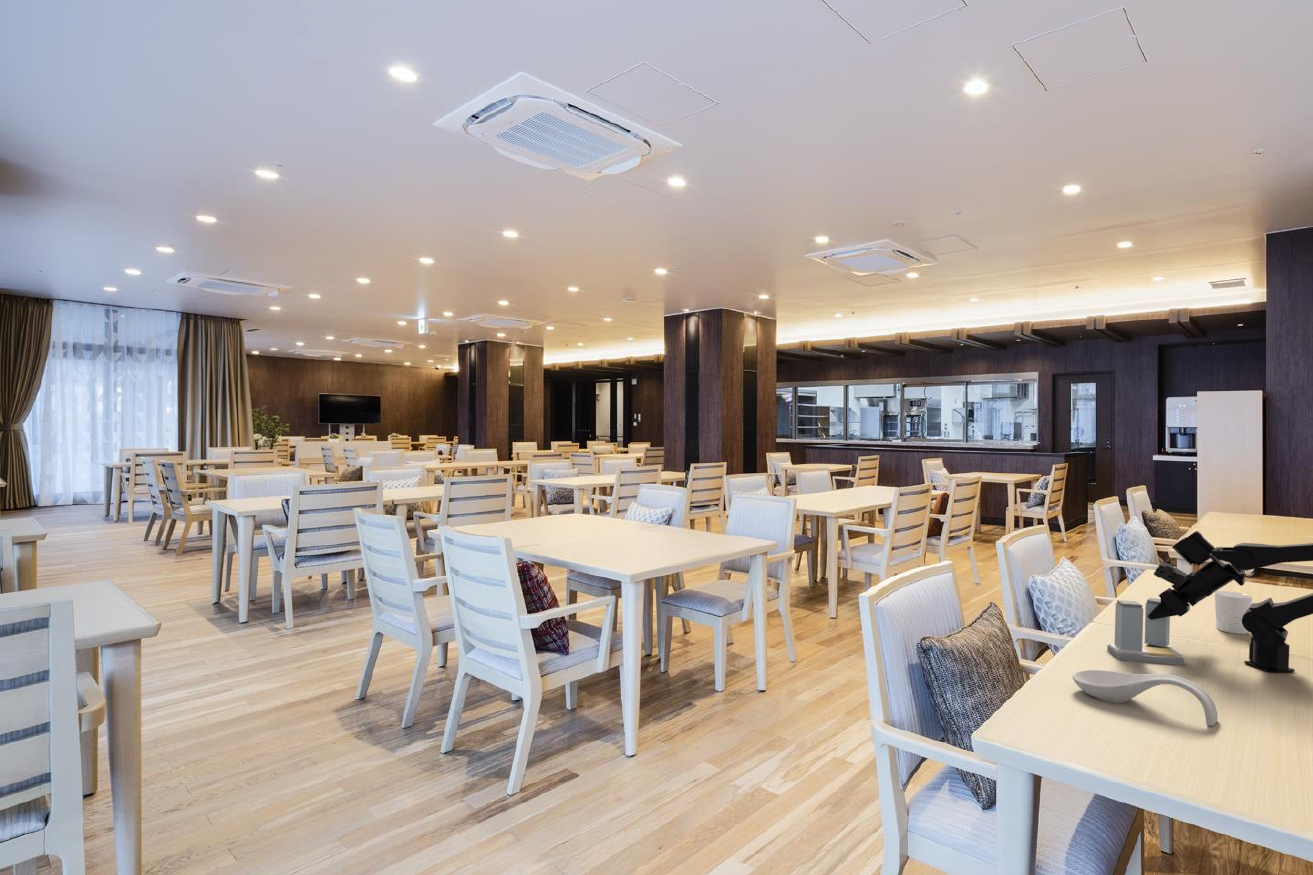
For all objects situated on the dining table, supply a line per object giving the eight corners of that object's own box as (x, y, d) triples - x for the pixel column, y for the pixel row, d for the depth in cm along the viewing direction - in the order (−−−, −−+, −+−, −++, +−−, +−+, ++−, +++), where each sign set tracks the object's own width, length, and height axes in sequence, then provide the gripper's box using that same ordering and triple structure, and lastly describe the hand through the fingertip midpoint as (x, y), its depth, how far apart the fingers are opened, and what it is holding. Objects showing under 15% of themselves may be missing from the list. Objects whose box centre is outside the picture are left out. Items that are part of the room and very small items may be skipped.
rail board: (1170, 655, 169) (1170, 647, 169) (1184, 665, 162) (1184, 656, 162) (1107, 650, 172) (1107, 642, 172) (1118, 659, 166) (1118, 651, 166)
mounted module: (1135, 646, 170) (1136, 601, 169) (1142, 651, 166) (1143, 605, 166) (1114, 644, 171) (1115, 599, 171) (1121, 649, 167) (1122, 603, 167)
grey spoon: (1064, 695, 143) (1065, 661, 143) (1082, 682, 151) (1082, 649, 151) (1210, 734, 126) (1211, 694, 126) (1221, 716, 134) (1222, 679, 134)
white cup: (1258, 635, 188) (1259, 598, 188) (1229, 634, 188) (1230, 597, 188) (1235, 626, 196) (1236, 591, 195) (1206, 626, 196) (1207, 590, 196)
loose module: (1169, 644, 177) (1170, 600, 176) (1165, 647, 174) (1167, 603, 174) (1148, 640, 180) (1149, 597, 179) (1144, 643, 177) (1145, 599, 177)
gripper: (1185, 549, 180) (1133, 584, 188) (1170, 558, 167) (1115, 595, 175) (1224, 585, 174) (1168, 620, 183) (1211, 597, 161) (1152, 634, 170)
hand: (1150, 616), depth 178 cm, fingers closed on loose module, 4 cm apart
